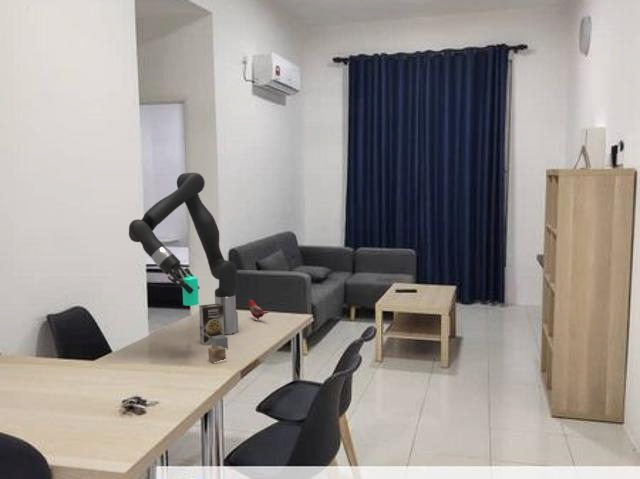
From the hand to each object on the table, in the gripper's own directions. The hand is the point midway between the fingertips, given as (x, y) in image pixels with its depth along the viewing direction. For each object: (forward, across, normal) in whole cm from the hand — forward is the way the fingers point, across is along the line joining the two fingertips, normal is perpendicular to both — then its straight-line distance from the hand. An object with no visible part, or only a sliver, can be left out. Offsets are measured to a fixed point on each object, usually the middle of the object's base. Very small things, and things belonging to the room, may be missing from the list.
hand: (194, 290), depth 225 cm
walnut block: (+26, -6, +10) cm, 29 cm away
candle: (+3, 0, +5) cm, 6 cm away
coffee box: (+17, +18, +20) cm, 32 cm away
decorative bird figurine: (+23, +56, +14) cm, 62 cm away
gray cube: (+22, +10, +15) cm, 28 cm away
